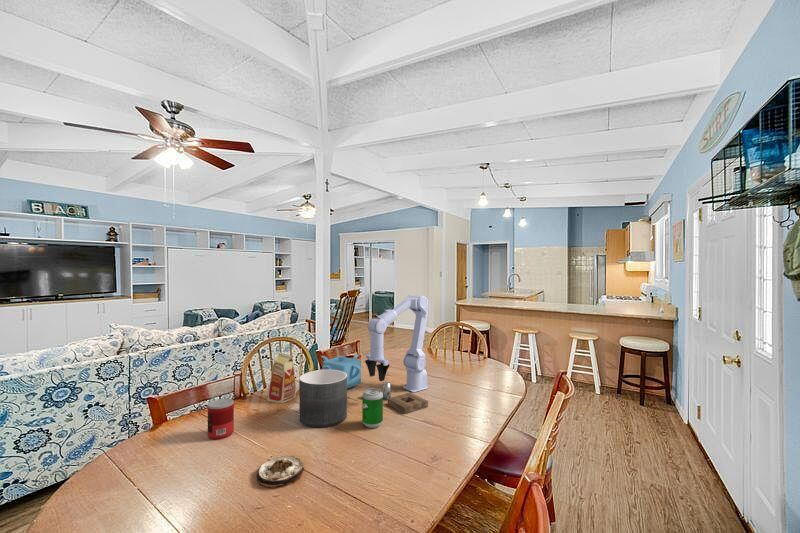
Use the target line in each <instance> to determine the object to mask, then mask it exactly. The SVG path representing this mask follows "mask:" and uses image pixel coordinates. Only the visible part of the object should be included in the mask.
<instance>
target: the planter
mask: <svg viewBox="0 0 800 533" xmlns="http://www.w3.org/2000/svg"><path fill="white" fill-rule="evenodd" d="M298 383H299V384H298V385H299V388H298V389H299V394H298V395H299V397H298V398H299V400H298V401H299V402H298V403H299V409H298V410H299V418H298V420H299V422H300V424H301V425H303V426H305V427H307V428H308V427H309V428H316V429H317V428H319V429H321V428H328V427H334V426H336V425H337V426H338V425H339V424H341V423H343V422H345V420H346V419H347V417H348V410H347V409H348V389H347V374H346V373H345V372H342V371H338V370H322V369H317V370H312V371H308V372H306V373H303V374H302V375H300V376H299V382H298Z"/></svg>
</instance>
